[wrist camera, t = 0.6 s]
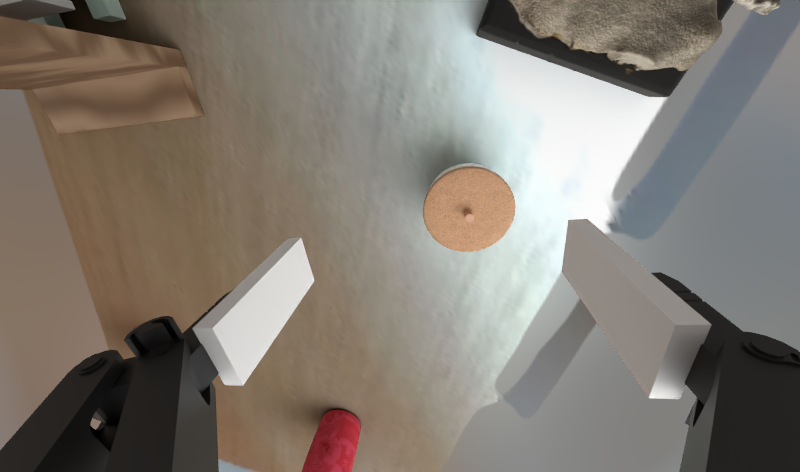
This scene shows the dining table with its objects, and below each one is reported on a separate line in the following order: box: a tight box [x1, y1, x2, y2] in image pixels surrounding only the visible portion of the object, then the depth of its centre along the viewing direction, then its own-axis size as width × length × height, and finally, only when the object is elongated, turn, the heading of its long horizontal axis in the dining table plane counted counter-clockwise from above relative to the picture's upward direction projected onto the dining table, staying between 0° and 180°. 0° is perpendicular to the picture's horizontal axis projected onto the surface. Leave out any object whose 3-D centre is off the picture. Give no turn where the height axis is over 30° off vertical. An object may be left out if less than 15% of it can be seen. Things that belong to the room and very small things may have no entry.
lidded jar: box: [423, 163, 515, 252], centre depth 37 cm, size 11×11×9 cm
